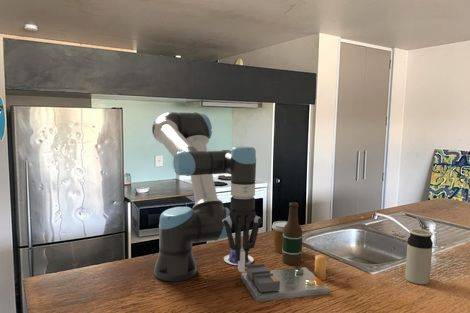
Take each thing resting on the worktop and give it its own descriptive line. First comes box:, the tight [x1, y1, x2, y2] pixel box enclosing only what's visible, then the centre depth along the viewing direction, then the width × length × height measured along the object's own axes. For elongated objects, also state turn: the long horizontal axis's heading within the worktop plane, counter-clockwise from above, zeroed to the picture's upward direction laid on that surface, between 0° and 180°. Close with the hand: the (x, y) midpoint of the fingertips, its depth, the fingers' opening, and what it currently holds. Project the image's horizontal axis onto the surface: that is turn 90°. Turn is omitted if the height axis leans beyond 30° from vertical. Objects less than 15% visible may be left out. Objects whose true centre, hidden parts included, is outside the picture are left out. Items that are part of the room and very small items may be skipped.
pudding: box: [223, 245, 255, 266], centre depth 147 cm, size 12×12×5 cm
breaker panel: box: [240, 266, 330, 303], centre depth 126 cm, size 25×17×3 cm
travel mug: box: [404, 228, 434, 285], centre depth 132 cm, size 8×8×18 cm
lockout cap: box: [313, 254, 328, 282], centre depth 133 cm, size 4×4×8 cm
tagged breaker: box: [254, 273, 280, 292], centre depth 120 cm, size 6×6×3 cm
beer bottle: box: [281, 201, 303, 266], centre depth 146 cm, size 8×8×24 cm
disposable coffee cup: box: [271, 220, 288, 254], centre depth 158 cm, size 10×10×12 cm
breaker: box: [246, 263, 270, 281], centre depth 128 cm, size 6×6×3 cm
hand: (241, 270), depth 117 cm, fingers closed
